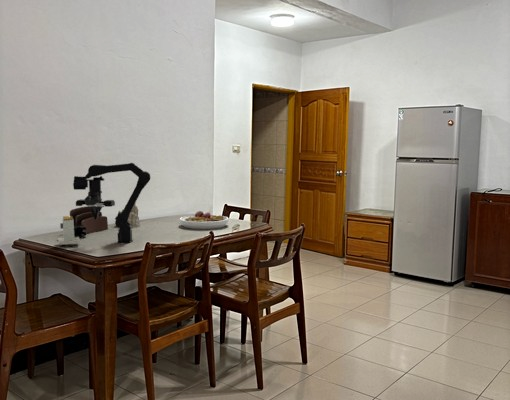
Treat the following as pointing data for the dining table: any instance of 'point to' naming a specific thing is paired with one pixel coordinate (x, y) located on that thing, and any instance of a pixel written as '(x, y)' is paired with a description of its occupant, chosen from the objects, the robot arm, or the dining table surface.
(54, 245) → the dining table surface
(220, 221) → the bowl
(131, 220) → the ceramic cottage
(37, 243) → the dining table surface
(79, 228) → the end cap
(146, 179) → the robot arm
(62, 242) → the gray rectangular block
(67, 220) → the brushed metal block
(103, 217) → the letter holder
